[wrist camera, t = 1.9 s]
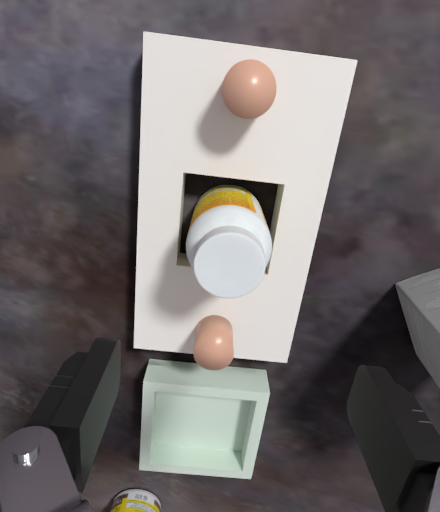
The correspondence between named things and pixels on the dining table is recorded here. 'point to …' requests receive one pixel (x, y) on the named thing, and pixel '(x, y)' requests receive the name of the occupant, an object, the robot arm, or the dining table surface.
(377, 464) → the robot arm
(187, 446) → the tray
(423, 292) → the skincare box
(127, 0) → the dining table surface
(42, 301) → the dining table surface
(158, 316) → the socket holder
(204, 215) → the supplement bottle
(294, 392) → the dining table surface
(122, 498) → the supplement bottle
